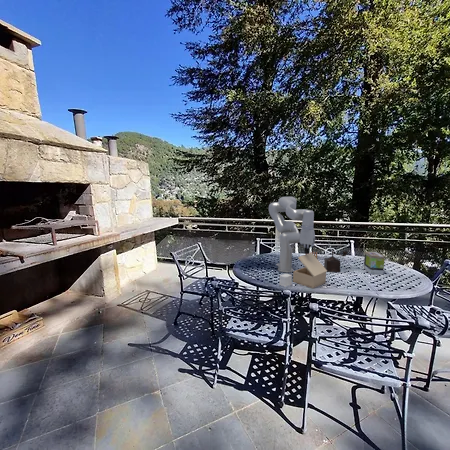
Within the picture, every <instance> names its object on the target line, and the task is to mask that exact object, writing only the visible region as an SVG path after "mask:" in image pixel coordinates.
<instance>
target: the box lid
mask: <svg viewBox="0 0 450 450" xmlns="http://www.w3.org/2000/svg"><path fill="white" fill-rule="evenodd" d="M315 256H316V255H315ZM315 256H314V253H313V254H312V252H311V253H310V252H309V254H307V255H305V254H304V255H301V256H297V259H298V260H299V261H300V262H301V264H302V265H303V266H304V267H306V268H307V270H308V271H309V272H310V273H311V274H312V276H313V277H315V276H317V275H320V274H322V273H325V272H326V273H328V272H327V270H326V269H325V268H324V264H322V263H321V262H320V260H318V257H317V258H316V257H315Z"/></svg>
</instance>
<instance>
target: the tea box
mask: <svg viewBox="0 0 450 450" xmlns="http://www.w3.org/2000/svg"><path fill="white" fill-rule="evenodd" d="M385 259H386V256H385V255H383V254H381V253H380V252H377V251H364V259H363V269H364V270H365V271H366V272H367V273H368V274H371V275H382V276H383V275H384V270H385V269H384V268H385V261H386V260H385Z"/></svg>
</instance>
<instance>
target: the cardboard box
mask: <svg viewBox="0 0 450 450" xmlns="http://www.w3.org/2000/svg"><path fill="white" fill-rule="evenodd" d="M292 272H293V275H292V282H293V283H295V284H299V285H302V286H304V287H308V288H311V289H315V288H317V287H320V286H322V285H324V284H325V283H326V282H327V281H326V280H327V272H325V273H322V274H320V275H317V276H315V277H313V276H312V274H311V273H310V272H309V271H308V270H307V268H306V267H305V266H304V267H301V268H299V269H297V270H293V271H292Z"/></svg>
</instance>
